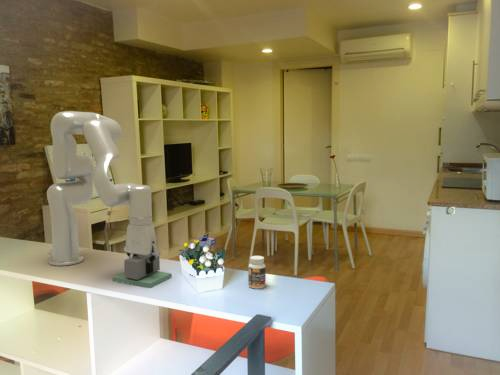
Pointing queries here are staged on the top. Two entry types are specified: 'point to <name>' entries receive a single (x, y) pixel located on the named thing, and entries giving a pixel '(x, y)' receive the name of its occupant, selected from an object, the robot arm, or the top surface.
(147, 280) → the board
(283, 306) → the top surface
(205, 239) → the ink cartridge box
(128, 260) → the block
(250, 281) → the pill bottle
